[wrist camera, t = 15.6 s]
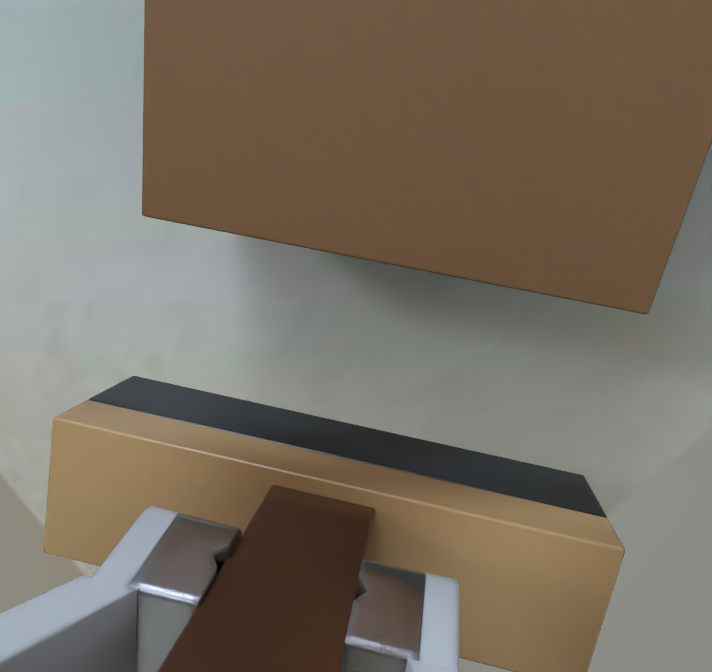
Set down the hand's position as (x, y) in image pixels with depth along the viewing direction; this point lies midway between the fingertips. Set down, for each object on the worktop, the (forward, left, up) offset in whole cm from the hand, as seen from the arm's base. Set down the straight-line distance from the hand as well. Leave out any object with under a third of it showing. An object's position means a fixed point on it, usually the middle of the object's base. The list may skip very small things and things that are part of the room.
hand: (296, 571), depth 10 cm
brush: (0, +2, -5) cm, 5 cm away
